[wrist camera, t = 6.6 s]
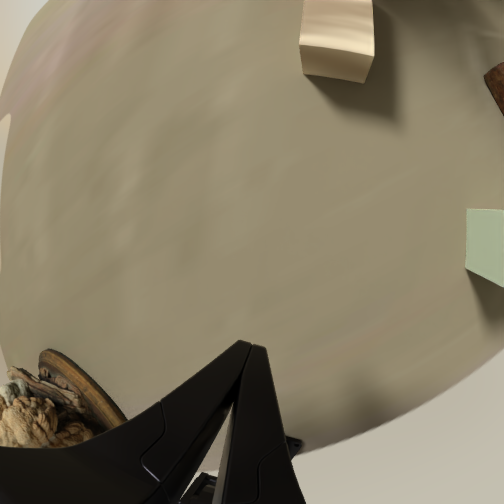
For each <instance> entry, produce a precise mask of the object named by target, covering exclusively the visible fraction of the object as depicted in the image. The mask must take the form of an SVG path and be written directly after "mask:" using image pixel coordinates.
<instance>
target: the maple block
mask: <svg viewBox="0 0 504 504" xmlns="http://www.w3.org/2000/svg"><path fill="white" fill-rule="evenodd" d="M299 48H300V55H301V62H302V69H303V74H309V75H317V76H324V77H330V78H337V79H342V80H348V81H353V82H358V83H363V84H364V83H365V80H366V77H367V75H368V72H369V69H370V67H371V64H372V61H373V59H374V26H373V9H372V0H304V6H303V15H302V24H301V32H300V40H299Z"/></svg>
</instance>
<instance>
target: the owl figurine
mask: <svg viewBox="0 0 504 504" xmlns="http://www.w3.org/2000/svg"><path fill="white" fill-rule="evenodd" d="M38 367H39V372H40V374H39V375H38V377H39V379H40V380H39V379H37V378H35V377H34V376H33V375H32V374H30V373H29V372H27V371H26V370H24V369H23V368H19V369H18V368H16V367H14V366H12V367H11V368H10V371H7V376H8V378H9V380H10V381H11V382H10V383H7V384H6V385H3V386H1V387H0V446H7V447H23V448H61V447H68V446H72V445H75V444H79V443H81V442H84V441H86V440H88V439H91V438H93V437H95V436H97V435H100V434H102V433H104V432H106V431H108V430H110V429H112V428H115V427H117V426H119V425H121V424H123V423H124V422H126V421H127V419H126V418H125V416H124V414H123V413H122V412H121V410H120V409H119V408H118V407H117V405H116V404H115V403H114V402H113V400H112V399H111V398H110V397H109V396H108V395H107V393H106V392H105V391H104V390H103V389H102V388H101V387H100V386H99V385H98V384H97V383H96V382H95V381H94V380H93V379H92V378H91V377H90V376H89V375H88V374H87V373H86V372H85V371H84V370H82V369H81V368H80V367H79V366H78V365H77V364H76V363H75V362H73V361H72V360H71V359H70V358H68V357H67V356H65V355H63V354H62V353H60V352H58V351H55V350H52V349H47V350H44V351H42V352H41V353H40V356H39V365H38Z"/></svg>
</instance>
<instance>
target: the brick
mask: <svg viewBox="0 0 504 504" xmlns="http://www.w3.org/2000/svg"><path fill="white" fill-rule="evenodd" d="M484 79H485V81H486V83H487V85H488V87H489V89H490V90H491V92H492V95H493V96H494V99H495V101H496V102H497V104H498V106H499V108H500V109H501V111H502V113H503V115H504V62H502V63H500V64H498V65H497V66H495V67H494V68H492V69H491V70H490V71H488V72H487V73H486V74H485V75H484Z"/></svg>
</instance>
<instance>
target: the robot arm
mask: <svg viewBox="0 0 504 504" xmlns="http://www.w3.org/2000/svg"><path fill="white" fill-rule="evenodd" d="M233 402H234V403H233ZM232 405H233V406H232ZM231 407H232V410H231V415H230V420H229V425H228V430H227V434H226V439H225V444H224V449H223V454H222V459H221V463H220V468H219V473H218V477H215V476H211V475H208V473H204V472H202V473H201V474H200V475H199V477H197V478H196V479H195V480H194V482H193V483H192V484H191V486H190V487H189V489H188V490H187V491H186V493H185V494H184V491H185V490H186V488H187V486H188V485H189V483H190V482H191V480H192V478H193V477H194V475H195V473H196V472H197V470H198V468H199V466H200V465H201V463H202V461H203V459H204V458H205V456H206V454H207V452H208V450H209V449H210V447H211V445H212V443H213V441H214V440H215V438H216V436H217V434H218V432H219V430H220V429H221V427H222V425H223V423H224V421H225V419H226V417H227V415H228V414H229V411H230V409H231ZM301 446H302V441H301V440H298V439H294V438H290V437H286V436H285V433H284V428H283V423H282V419H281V414H280V410H279V405H278V400H277V396H276V391H275V387H274V382H273V377H272V373H271V368H270V363H269V359H268V354H267V350H266V348H265V347H263V346H260V345H256V344H253V345H252V344H251V343H250V342H246V341H243V340H238V341H237V342H235V343H234V344H233V345H232V346H230V347H229V348H228V349H227V350H225V351H224V352H223V353H222V354H220V355H219V356H218V357H217V358H215V359H214V360H213V361H212V362H210V363H209V364H208V365H206V366H205V367H204V368H203V369H201V370H200V371H199V372H197V373H196V374H195V375H193V376H192V377H191V378H189V379H188V380H187V381H185V382H184V383H183V384H181V385H180V386H179V387H177V388H176V389H175V390H173V391H172V392H171V393H169V394H168V395H166V396H165V397H164V398H162V399H161V400H160V401H158V402H156V403H155V404H154V405H152V406H151V407H149V408H148V409H146V410H145V411H143V412H142V413H140V414H139V415H137V416H135V417H134V418H132V419H130V420H128V421H126V422H124V423H123V424H121V425H119V426H117V427H115V428H112V429H110V430H108V431H106V432H104V433H102V434H100V435H97V436H95V437H93V438H91V439H88V440H86V441H84V442H81V443H79V444H75V445H72V446H68V447H61V448H23V447H7V446H0V504H306V502H305V499H304V497H303V494H302V492H301V489H300V487H299V484H298V481H297V478H296V475H295V473H294V470H293V466H292V462H291V460H292V459H293V457H294V456H295V455H296V453H297V452H298V450H299V449H300V448H301ZM183 494H184V495H183ZM182 495H183V497H182ZM181 497H182V498H181ZM180 498H181V499H180Z"/></svg>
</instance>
